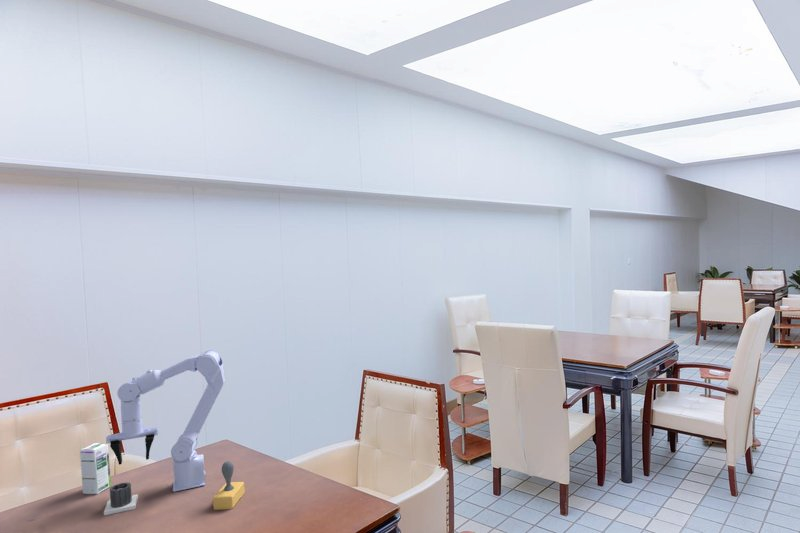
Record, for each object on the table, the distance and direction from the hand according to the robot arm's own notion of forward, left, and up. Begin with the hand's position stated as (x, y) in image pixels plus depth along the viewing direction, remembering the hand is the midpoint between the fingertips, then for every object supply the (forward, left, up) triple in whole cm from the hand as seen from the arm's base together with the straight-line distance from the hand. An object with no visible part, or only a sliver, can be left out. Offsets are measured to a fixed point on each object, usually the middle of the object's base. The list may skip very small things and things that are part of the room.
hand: (134, 460), depth 157 cm
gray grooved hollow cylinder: (+3, +9, -9) cm, 13 cm away
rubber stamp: (-27, +22, -10) cm, 36 cm away
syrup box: (+12, -8, -10) cm, 18 cm away
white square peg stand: (+3, +9, -10) cm, 14 cm away
